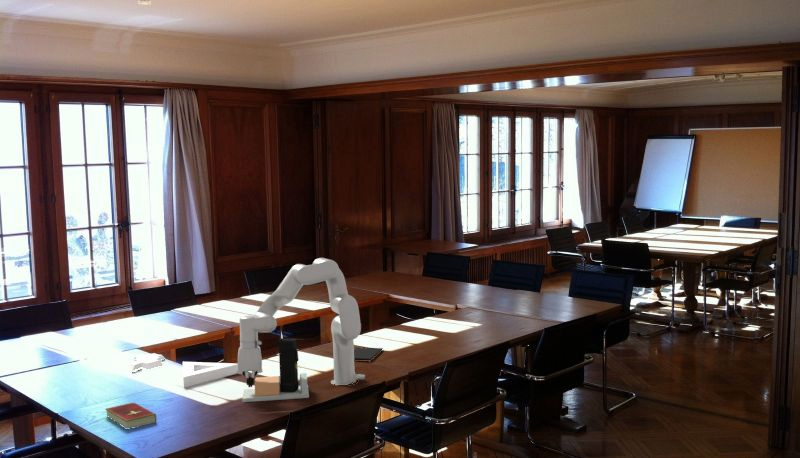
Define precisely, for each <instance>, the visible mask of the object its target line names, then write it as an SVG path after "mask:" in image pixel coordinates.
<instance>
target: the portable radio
mask: <svg viewBox="0 0 800 458" xmlns="http://www.w3.org/2000/svg"><path fill="white" fill-rule="evenodd" d="M297 346H298V345H297V338H282V334H280V338H279V340H278V353H279V354H278V360H279V376H280V392H292V393H293V392H295V391H297V390H298V389H299V386H300V385H299V369H298V362H299V360H300V359H299V349H298V347H297Z"/></svg>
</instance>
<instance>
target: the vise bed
mask: <svg viewBox="0 0 800 458" xmlns="http://www.w3.org/2000/svg"><path fill="white" fill-rule="evenodd" d="M298 386H299V389H298V390H297V391H295V392H293V393H292V392H280V394H278V395H263V396H255V388H245V389H243V393H242V399H241V400H242V403H249V402H250V403H252V402H262V401H263V402H267V401H280V400H295V399H309V398H310V394H309V393H310V392H309V385H308V375H307V373H306V372H305V373H300V374H299V385H298Z"/></svg>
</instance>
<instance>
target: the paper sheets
mask: <svg viewBox="0 0 800 458" xmlns="http://www.w3.org/2000/svg"><path fill="white" fill-rule="evenodd" d="M134 359H135V360H134ZM161 359H162V360H163V359H166V358H165V356H164V355H163V354H157V353H150V354H143V353H140V354H139V355H136V356H135V357H134V358H133V360H134V362H133V361H132V362H131V363H130V365H129V367H130V368H131V369H132V371H133V370H135V369H138V368H140V367H143V368H146V369H151V368H154V367H158V366H162V365H163V364H162V363H161V362H163V361H162V360H161Z"/></svg>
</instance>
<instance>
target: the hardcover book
mask: <svg viewBox="0 0 800 458" xmlns="http://www.w3.org/2000/svg"><path fill="white" fill-rule="evenodd" d="M104 410H106V417H107V416H109V417H110V418H112V419H113V420H115V421H116V422H118V423H119V424H121V425H123V426H124V427H125V428H132V427H137V426H141V427H143V426H142V425H145V426H148V424H149V425H152V424H156V423H157V414H156V413H155V412H153V411H151V410H149V409H147V408H145V407H143V406H141V405H140V404H138V403H136V402H129V403H124V404H121V405H116V406H110V407H107V408H105V409H104ZM110 418H109V419H110ZM113 420H112V421H113ZM115 421H114V422H115ZM116 422H115V423H116ZM118 423H117V424H118ZM119 424H118V425H119ZM146 424H147V425H146ZM137 428H138V427H137Z"/></svg>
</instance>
